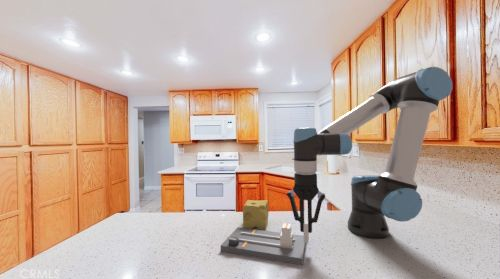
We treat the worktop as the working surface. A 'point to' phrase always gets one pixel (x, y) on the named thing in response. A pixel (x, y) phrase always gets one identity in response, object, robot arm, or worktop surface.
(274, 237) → the console
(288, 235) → the fader
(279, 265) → the worktop surface
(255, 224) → the cheese
